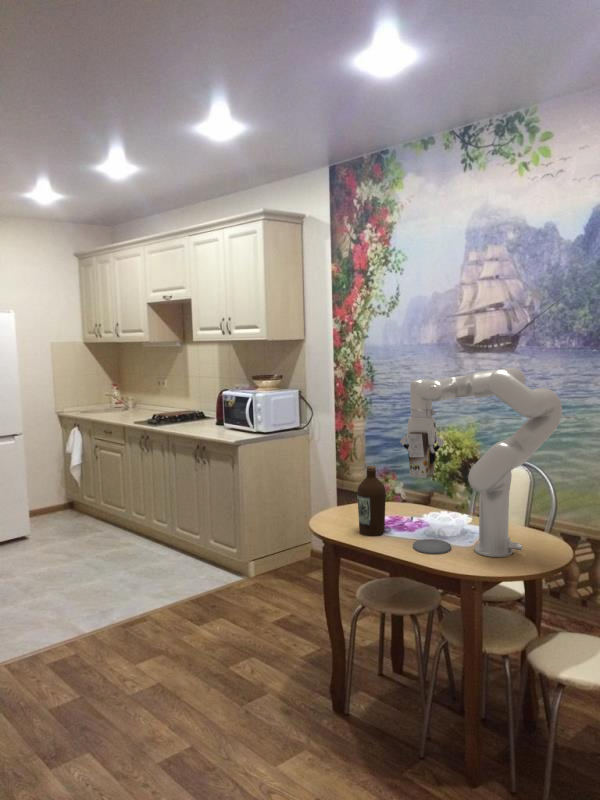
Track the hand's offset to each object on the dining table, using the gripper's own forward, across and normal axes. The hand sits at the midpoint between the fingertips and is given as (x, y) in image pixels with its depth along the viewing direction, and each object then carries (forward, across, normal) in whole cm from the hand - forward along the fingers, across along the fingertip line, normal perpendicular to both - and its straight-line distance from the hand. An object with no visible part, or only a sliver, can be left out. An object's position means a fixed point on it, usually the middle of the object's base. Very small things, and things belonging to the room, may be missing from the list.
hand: (422, 462), depth 236 cm
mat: (+28, -6, +11) cm, 30 cm away
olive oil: (+27, +19, +2) cm, 33 cm away
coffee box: (+5, 0, 0) cm, 5 cm away
